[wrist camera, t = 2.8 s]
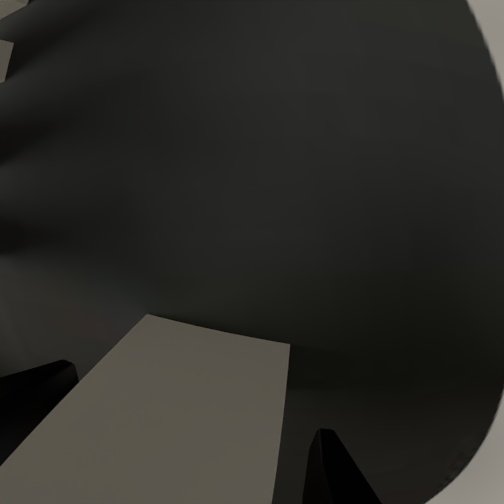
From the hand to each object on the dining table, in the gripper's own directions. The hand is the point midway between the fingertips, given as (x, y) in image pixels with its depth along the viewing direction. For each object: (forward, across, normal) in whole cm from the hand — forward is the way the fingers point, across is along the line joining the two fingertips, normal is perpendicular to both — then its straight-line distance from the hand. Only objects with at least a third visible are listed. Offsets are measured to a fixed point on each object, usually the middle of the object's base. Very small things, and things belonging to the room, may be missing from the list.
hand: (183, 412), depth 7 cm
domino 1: (+3, 0, 0) cm, 3 cm away
